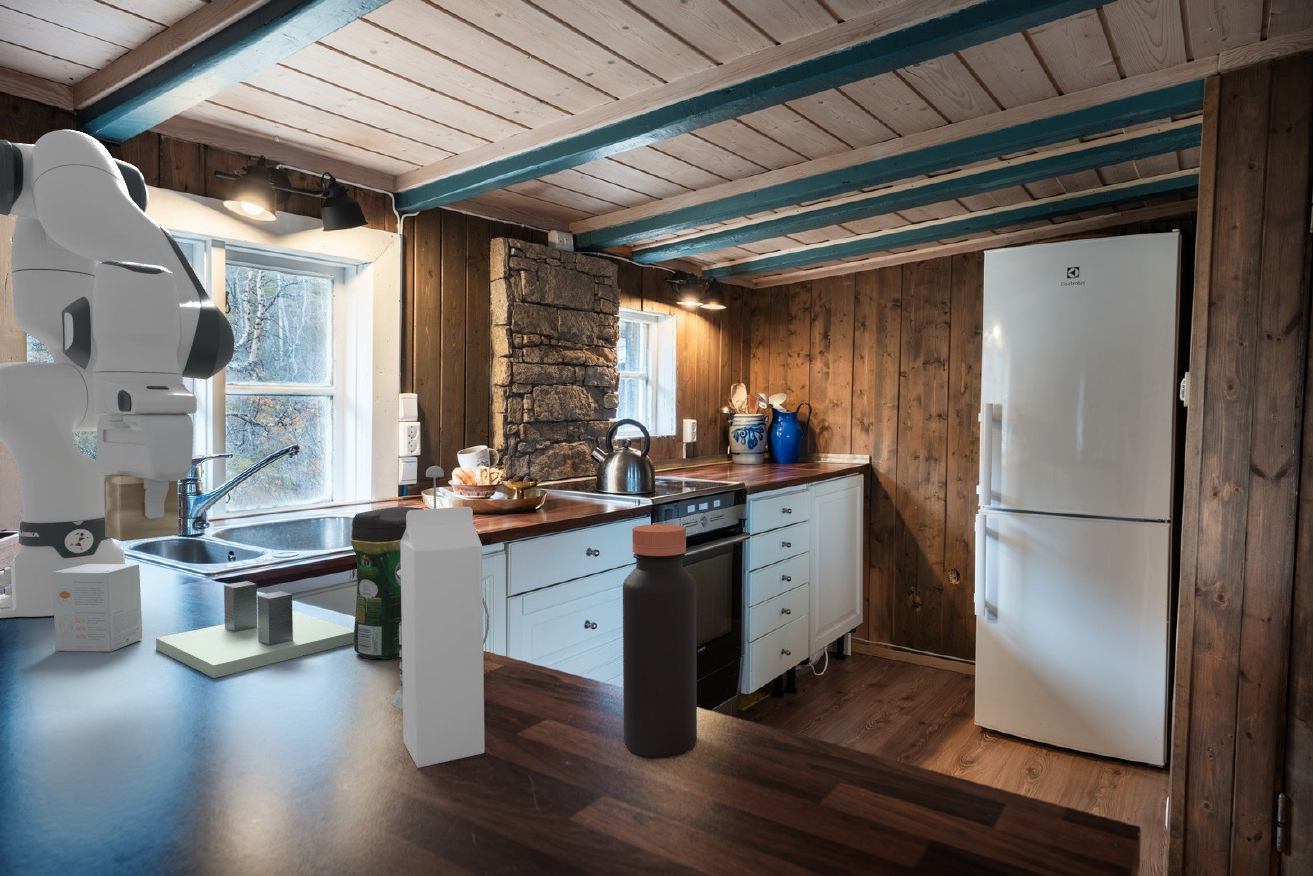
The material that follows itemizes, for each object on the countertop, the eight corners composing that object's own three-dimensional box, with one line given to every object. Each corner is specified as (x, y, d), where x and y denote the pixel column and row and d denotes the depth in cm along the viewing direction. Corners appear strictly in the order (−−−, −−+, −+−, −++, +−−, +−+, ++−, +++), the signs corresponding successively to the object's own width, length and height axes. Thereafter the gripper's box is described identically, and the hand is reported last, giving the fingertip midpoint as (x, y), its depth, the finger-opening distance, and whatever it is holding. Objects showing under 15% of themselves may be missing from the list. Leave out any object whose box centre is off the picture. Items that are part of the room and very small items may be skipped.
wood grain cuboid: (105, 536, 91) (103, 474, 91) (160, 530, 96) (159, 471, 95) (122, 541, 88) (120, 477, 87) (178, 535, 92) (177, 474, 92)
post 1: (225, 639, 105) (223, 584, 105) (247, 634, 107) (246, 581, 107) (234, 643, 103) (233, 587, 103) (257, 638, 106) (256, 584, 105)
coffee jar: (403, 636, 106) (401, 502, 106) (443, 645, 102) (441, 505, 101) (341, 655, 98) (339, 509, 98) (382, 665, 94) (380, 513, 93)
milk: (485, 754, 69) (483, 510, 68) (416, 769, 66) (413, 514, 66) (466, 730, 75) (464, 503, 74) (401, 743, 72) (399, 506, 71)
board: (156, 649, 101) (155, 638, 101) (292, 620, 115) (292, 610, 115) (214, 678, 90) (213, 665, 90) (357, 642, 104) (357, 631, 104)
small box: (143, 640, 105) (141, 563, 105) (110, 653, 100) (108, 572, 99) (89, 639, 106) (87, 562, 106) (53, 651, 100) (51, 571, 100)
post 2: (258, 653, 99) (257, 595, 99) (282, 647, 101) (280, 591, 101) (269, 658, 97) (268, 598, 97) (293, 652, 99) (292, 594, 99)
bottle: (645, 723, 76) (644, 521, 75) (708, 736, 73) (708, 525, 72) (609, 750, 70) (608, 530, 69) (677, 766, 67) (676, 535, 66)
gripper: (79, 399, 95) (82, 510, 96) (139, 397, 82) (142, 525, 83) (138, 400, 100) (140, 506, 101) (203, 397, 87) (205, 519, 88)
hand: (142, 515), depth 92 cm, fingers closed on wood grain cuboid, 6 cm apart
